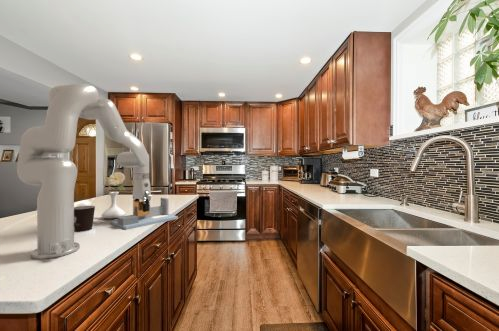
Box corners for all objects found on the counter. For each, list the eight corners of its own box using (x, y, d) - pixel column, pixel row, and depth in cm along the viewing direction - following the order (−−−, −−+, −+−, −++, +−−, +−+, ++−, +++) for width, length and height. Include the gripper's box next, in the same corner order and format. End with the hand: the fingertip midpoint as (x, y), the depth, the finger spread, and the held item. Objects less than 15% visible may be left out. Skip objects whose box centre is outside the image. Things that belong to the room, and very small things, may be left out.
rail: (178, 218, 126) (178, 199, 126) (126, 229, 105) (125, 206, 105) (161, 214, 136) (161, 196, 136) (111, 223, 115) (111, 203, 115)
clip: (149, 214, 122) (149, 201, 122) (138, 216, 117) (137, 202, 117) (144, 213, 125) (144, 200, 125) (133, 215, 120) (133, 201, 120)
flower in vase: (96, 219, 124) (96, 172, 124) (114, 214, 135) (113, 171, 135) (116, 221, 121) (116, 172, 120) (132, 216, 132) (132, 171, 131)
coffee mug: (95, 230, 104) (95, 207, 104) (70, 233, 99) (70, 210, 99) (94, 224, 114) (94, 204, 113) (72, 227, 109) (72, 205, 109)
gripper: (157, 177, 118) (157, 211, 118) (140, 175, 129) (140, 207, 129) (142, 177, 112) (142, 213, 113) (126, 176, 123) (126, 209, 123)
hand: (141, 210), depth 121 cm, fingers open, 9 cm apart
